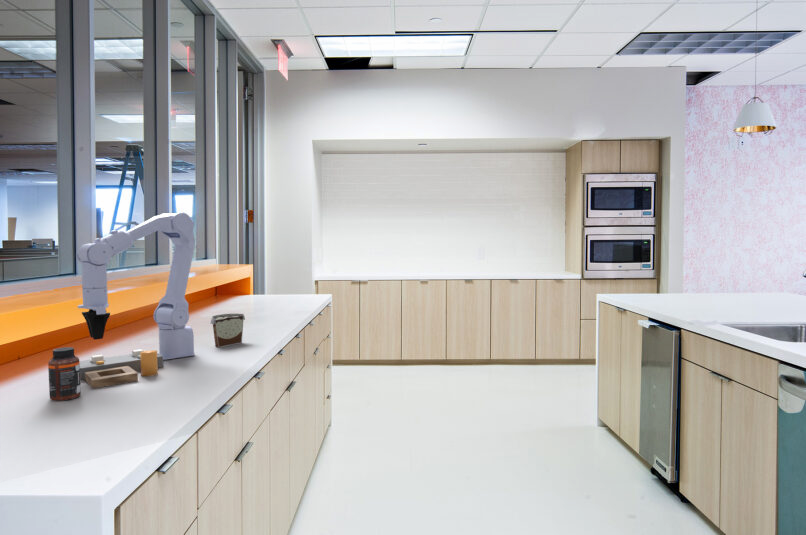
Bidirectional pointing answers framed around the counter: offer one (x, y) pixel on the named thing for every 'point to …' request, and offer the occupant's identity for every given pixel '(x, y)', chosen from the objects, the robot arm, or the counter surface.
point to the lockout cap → (149, 363)
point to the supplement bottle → (64, 375)
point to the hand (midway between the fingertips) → (96, 338)
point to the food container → (227, 329)
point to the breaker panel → (115, 363)
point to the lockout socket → (111, 376)
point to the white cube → (97, 358)
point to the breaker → (136, 352)
